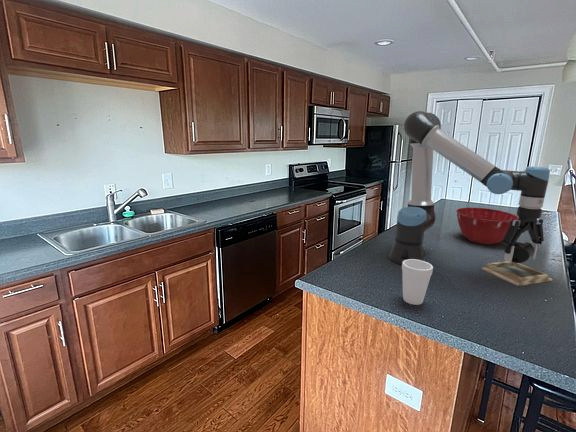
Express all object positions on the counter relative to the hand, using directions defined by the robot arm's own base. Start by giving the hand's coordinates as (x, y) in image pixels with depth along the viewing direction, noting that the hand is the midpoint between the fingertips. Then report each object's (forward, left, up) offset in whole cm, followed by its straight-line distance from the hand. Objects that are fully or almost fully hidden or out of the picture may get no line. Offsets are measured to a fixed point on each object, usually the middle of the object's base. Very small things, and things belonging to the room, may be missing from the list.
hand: (519, 259), depth 128 cm
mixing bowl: (+24, +39, -7) cm, 46 cm away
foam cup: (-55, -7, -7) cm, 56 cm away
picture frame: (0, 0, -7) cm, 7 cm away
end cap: (0, 0, 0) cm, 0 cm away
